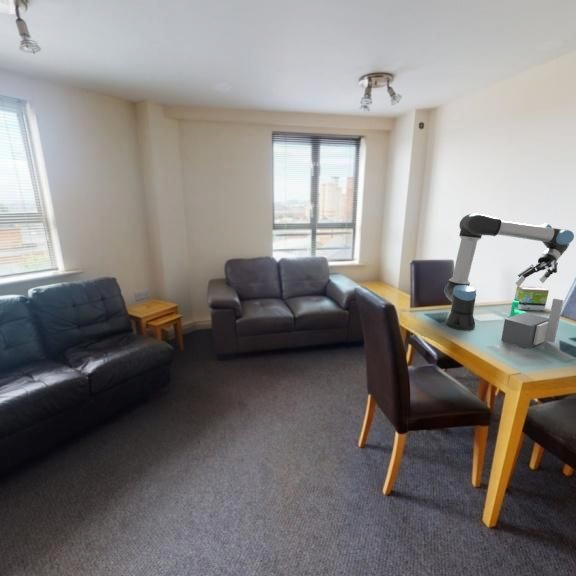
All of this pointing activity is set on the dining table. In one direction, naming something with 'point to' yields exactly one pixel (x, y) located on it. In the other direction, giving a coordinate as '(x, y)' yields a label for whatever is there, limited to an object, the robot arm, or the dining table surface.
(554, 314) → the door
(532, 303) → the tea box
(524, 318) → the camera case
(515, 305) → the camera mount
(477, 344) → the dining table surface
